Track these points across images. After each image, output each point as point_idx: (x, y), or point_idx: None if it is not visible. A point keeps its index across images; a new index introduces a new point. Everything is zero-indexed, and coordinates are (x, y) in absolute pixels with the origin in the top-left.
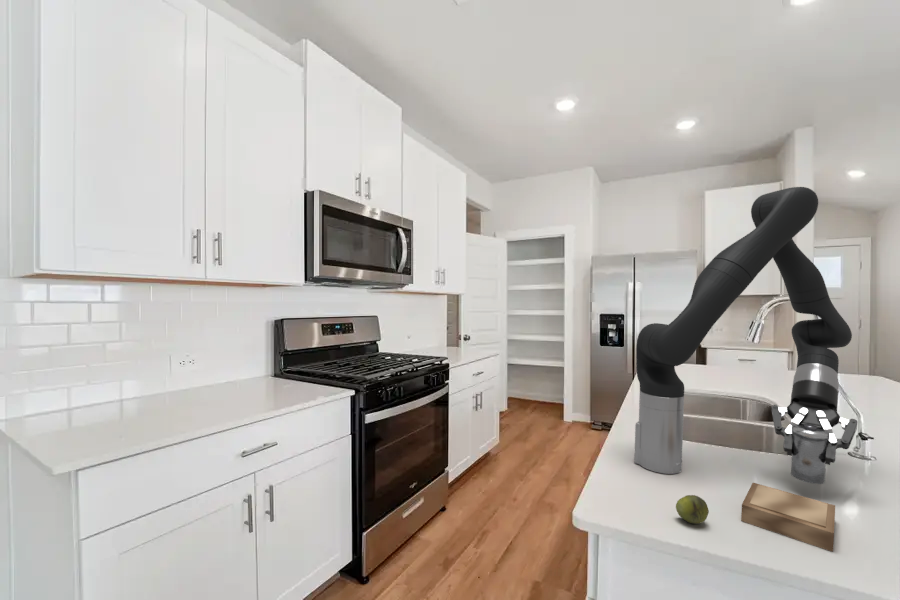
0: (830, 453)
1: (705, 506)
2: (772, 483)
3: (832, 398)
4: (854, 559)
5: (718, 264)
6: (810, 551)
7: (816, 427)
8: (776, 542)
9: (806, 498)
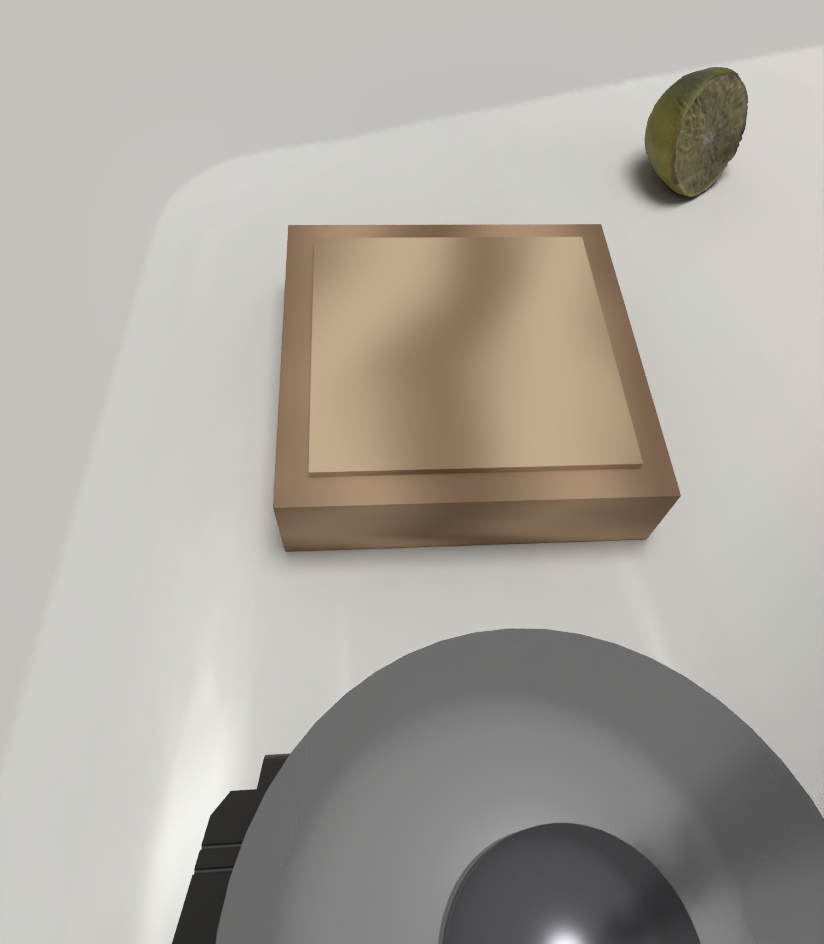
0: (254, 811)
1: (664, 96)
2: None
3: None
4: (237, 286)
5: None
6: None
7: (448, 920)
8: None
9: (405, 465)
